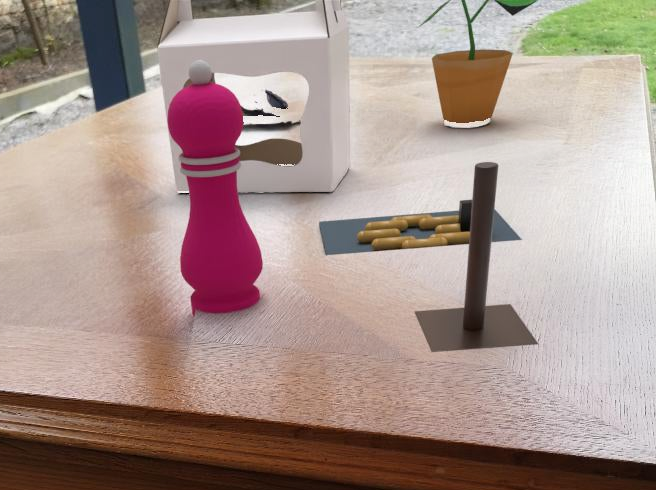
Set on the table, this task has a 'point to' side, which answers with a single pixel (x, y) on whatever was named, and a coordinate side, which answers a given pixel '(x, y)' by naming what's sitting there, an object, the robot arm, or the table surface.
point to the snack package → (272, 100)
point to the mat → (344, 232)
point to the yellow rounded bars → (446, 228)
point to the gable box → (262, 59)
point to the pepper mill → (213, 197)
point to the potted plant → (472, 73)
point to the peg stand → (477, 287)
